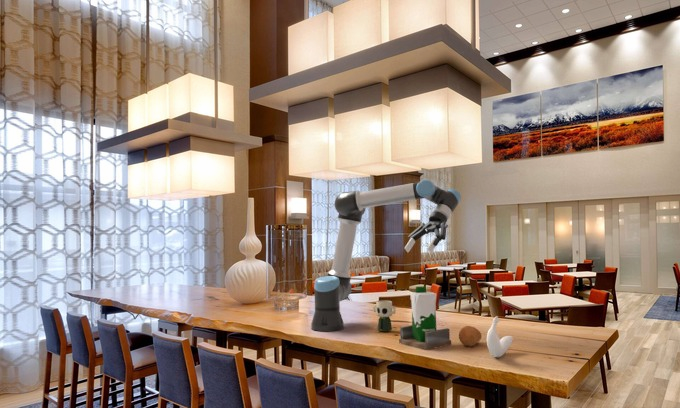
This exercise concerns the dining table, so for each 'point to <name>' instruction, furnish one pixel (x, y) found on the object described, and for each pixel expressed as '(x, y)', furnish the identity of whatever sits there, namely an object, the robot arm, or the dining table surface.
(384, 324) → the white and green figurine
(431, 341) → the grey square holder
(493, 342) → the white bird figurine
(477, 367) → the dining table surface
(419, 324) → the soya milk
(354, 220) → the robot arm
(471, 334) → the potato
